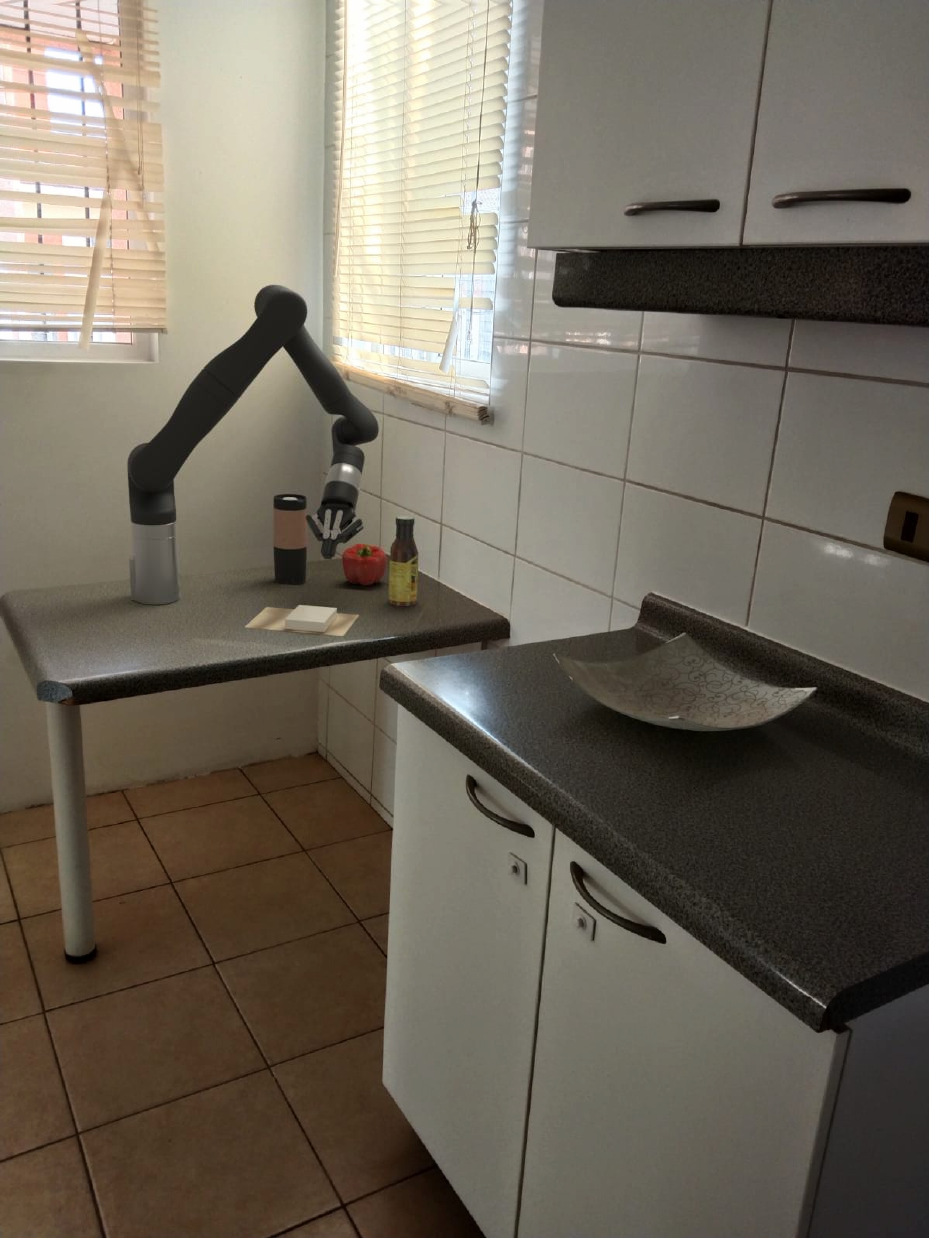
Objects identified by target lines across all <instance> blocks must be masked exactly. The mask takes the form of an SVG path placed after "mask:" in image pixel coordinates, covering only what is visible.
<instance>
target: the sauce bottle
mask: <svg viewBox="0 0 929 1238" xmlns="http://www.w3.org/2000/svg"><path fill="white" fill-rule="evenodd" d="M415 521H416V520H415V517H413V516H410V515H398V516H395V525H396V527H395V528H396V531H395V539H394V541H393V542H392V543H391V546H390V551H389V552H390V556H389V557H390V558H389V567H388V568H389V569H388V571H389V572H388V574H389V575H388V600H389V601H388V603H389V604H390V605H393V606H396V607H412V606H414V605H416V604H417V600H418V579H419V578H418V575H419V551H418V548H417V544H416V542H415V538H414V537H415V536H414V525H415V523H416V522H415Z"/></svg>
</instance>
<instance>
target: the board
mask: <svg viewBox="0 0 929 1238" xmlns="http://www.w3.org/2000/svg"><path fill="white" fill-rule="evenodd" d="M295 609H296V608H294V609H292V608H285V607H284V608H283V607H272V606H270V607H269V606H265V608H264V609H263V610H261V612H260V613H258V614H257V615H256V616H255V617H254V618H253V619H252V620H251V621H250V622H248V623H247V624H246V625H245V626H244V628H249V629H257V630H258V629H259V630H267V631H268V630H269V631H270V630H271V631H280V632H282V631H283V632H290V633H291V632H292V633H293V632H294V633H303V634H304V633H305V634H314V635H324V636H325V635H326V636H335V637H336V636H337V637H344V636H345V635H346V633H347V632H348V630H349V629H350V628H351V627H352V625H353V624H354V623H355V621H356V620H357V619H358V618H359V616H360V614H350V613H342V612H341V613H340V612H339V613H338V612H337V618H336V619H335V620H334V621H333V623H332V624H331V625H330V626H329V627H328V628H327V630H326V631H325V632H314V631H303V630H292V629H285V619H286V618H287V617H288V616H289V615H290V614H291V613H292V612H293V611H294V610H295Z"/></svg>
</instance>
